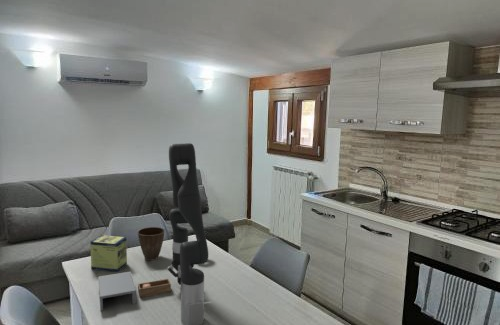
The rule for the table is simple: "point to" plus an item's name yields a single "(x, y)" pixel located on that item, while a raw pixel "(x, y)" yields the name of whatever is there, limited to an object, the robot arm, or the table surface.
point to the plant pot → (151, 241)
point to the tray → (154, 288)
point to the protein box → (108, 253)
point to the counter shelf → (116, 286)
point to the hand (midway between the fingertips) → (180, 283)
